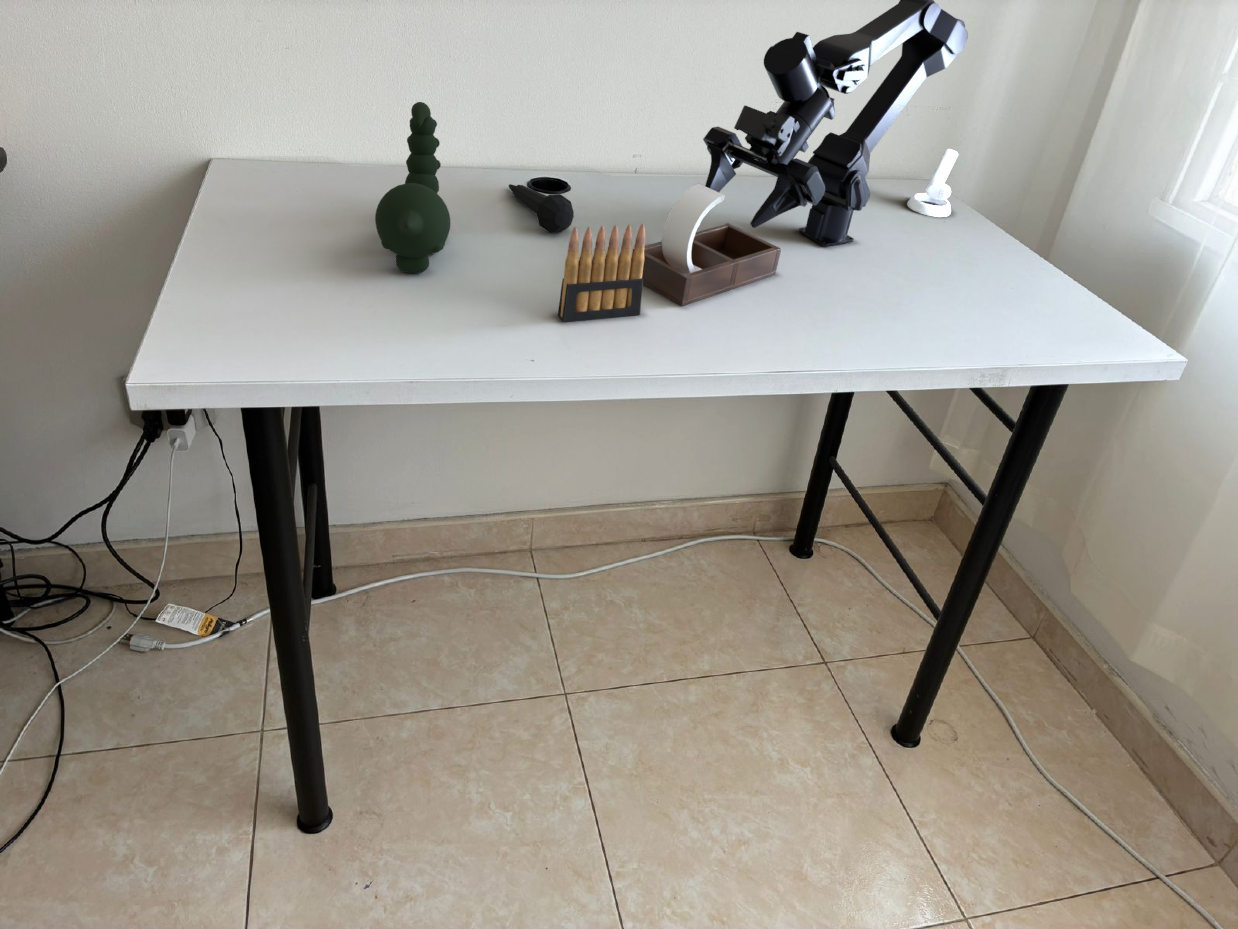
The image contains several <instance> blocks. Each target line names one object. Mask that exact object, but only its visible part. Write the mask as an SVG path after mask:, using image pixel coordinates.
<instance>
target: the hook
mask: <svg viewBox="0 0 1238 929" xmlns="http://www.w3.org/2000/svg"><path fill="white" fill-rule="evenodd" d="M958 157H959V153H958V151H956V150H954V149H951V148H947V149H945V151H944V153H943V155H942V156H941V158H940V160H939V163H938V165H937V166H936V168H935V170H934V172H933V175H932V176H931V178H930V180H929V182H928V183H927V185H926V187H925V192H917V193H914V194H913V195H912V196H911V198H909V199H908V201H907V203H906V205H907V207H908V208H909V209H910V210H912V211H913V212H916V213H918V214H921V215H924V216H929V217H935V218H936V217H937V218H942V217H949V216H950V215H951V212H952V209H951V203H950V201H949V200H948V199H949V197H950V196H951V194H952V189H951V187H950V186H949V185H948V184H946V183H945V182H946V180H947V178H948V177H949V174H950V172H951V170H952V169H953V166H954V164H955V162H956V160H957V158H958ZM925 202H926V203H925ZM929 203H931V204H929ZM933 204H935V205H933Z"/></svg>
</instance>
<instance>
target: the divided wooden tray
mask: <svg viewBox="0 0 1238 929" xmlns="http://www.w3.org/2000/svg"><path fill="white" fill-rule="evenodd" d="M633 251H634V248H632V250H631V255H632V254H633ZM781 251H782V248H781V247H780V246H777V245H774V244H772V243H771V242H768V241H767V240H765V239H762V238H760V237H758V236H756V235H753V234H752V233H750V232H748V231H746V230H744V229H742V228H740V227H737V226H735V225H733V224H731V223H728V222H726V223H724V224H720V225H716V226H712V227H709V228H705V229H701V230H698V231H696V233H695V236H694V239H693V243H692V249H691V259H692V264H693V265H695V266H697V267H699V268H701V269H702V270H698V271H695V272H692V273H689V274H685V273H683V272H681V271H679V270H678V269H676V268H674V267H672V266H671V265H669V264H668V262H667V261H666V260H665V258H664V255H663V251H662V240H661V241H657V242H654V243H649V244H645V248H644V266H643V273H642V278H643V286H644V287H647V288H649V289H650V290H652V291H654V292H656V293H658V294H659V295H660V296H662V297H664V298H667V299H668V300H669V301H672V302H673V303H675V304H677V305H678V306H680V307H684V306H687V305H690V304H693V303H696V302H699V301H702V300H705V299H708V298H710V297H711V298H712V297H715V296H717V295H720V294H723V293H726V292H729V291H732V290H735V289H738V288H740V287H744V286H746V285H747V286H748V285H749V284H752V283H755V282H758V281H761V280H764V279H767V278H770V277H773V276H776V273H777V269H778V266H779V265H778V264H779V260H780V256H781Z"/></svg>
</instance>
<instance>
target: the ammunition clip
mask: <svg viewBox="0 0 1238 929" xmlns="http://www.w3.org/2000/svg"><path fill="white" fill-rule="evenodd" d="M645 228H646V227H645V225H644V223H641V224H640V226H639V227H638V230H637V233H636V237H635V241H634V245H633V246H634V247H633V248H632V244H633V232H632V231H633V230H632V226H631V224H628V225H627V226H626V227H625V230H624V234H623V237H622V242H621V245H620V246H621V247H620V252H619V243H620V242H619V240H620V239H619V238H620V237H619V229H618V226H617V225H616V224H615V225H614V226H613V227H612V229H611V232H610V235H609V240H608V246H607V251H606V231H605V227H604V225H601V226H600V228H599V229H598V232H597V235H596V238H595V239H596V240H595V244H594V245H595V246H594V250H593V235H592V229H591V227H590V226H587V228H586V229H585V232H584V235H583V238H582V244H581V249H580V255H579V244H580V242H579V232H578V229H577V227H573V229H572V231H571V233H570V236H569V241H568V247H567V248H568V249H567V255H566V258H565V263H564V273H563V278H562V280H561V288H560V295H559V302H558V310H557V317H559V318H560V320H561V321H562V322H563V323H571V322H582V321H593V320H603V319H604V320H605V319H614V318H624V317H635V316H640V315H641V308H642V297H643V287H644V285H643V278H642V273H643V266H644V248H645V246H646V229H645ZM632 249H634V251H633V250H632ZM632 251H633V254H632ZM592 252H593V255H592Z"/></svg>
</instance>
